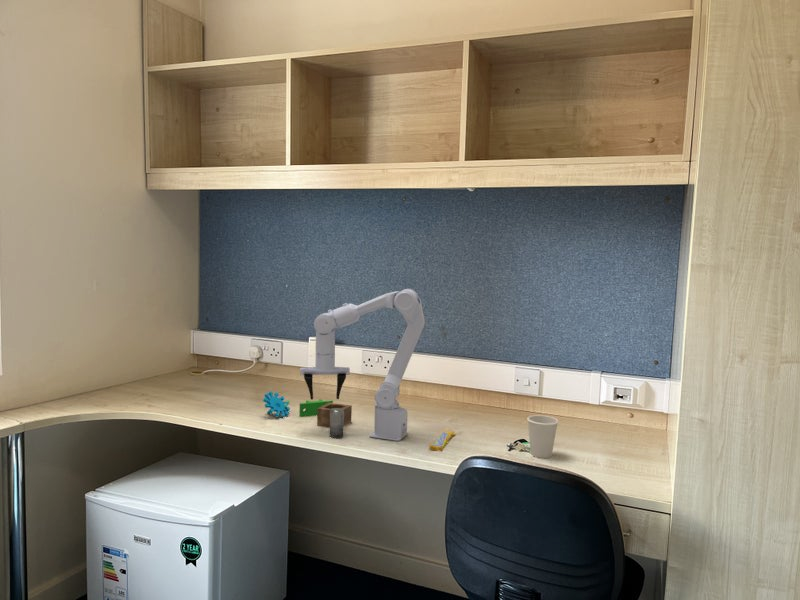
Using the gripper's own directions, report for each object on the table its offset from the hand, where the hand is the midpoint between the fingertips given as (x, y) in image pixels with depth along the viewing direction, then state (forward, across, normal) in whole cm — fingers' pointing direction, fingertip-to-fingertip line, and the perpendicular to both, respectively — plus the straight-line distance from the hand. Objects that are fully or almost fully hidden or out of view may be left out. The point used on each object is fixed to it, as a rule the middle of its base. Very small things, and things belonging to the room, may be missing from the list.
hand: (324, 398), depth 181 cm
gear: (+10, +15, -18) cm, 26 cm away
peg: (+10, -3, +5) cm, 12 cm away
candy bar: (+11, -34, +12) cm, 37 cm away
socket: (+10, -3, -8) cm, 13 cm away
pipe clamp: (+10, +3, -20) cm, 22 cm away
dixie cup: (+11, -59, +24) cm, 65 cm away
